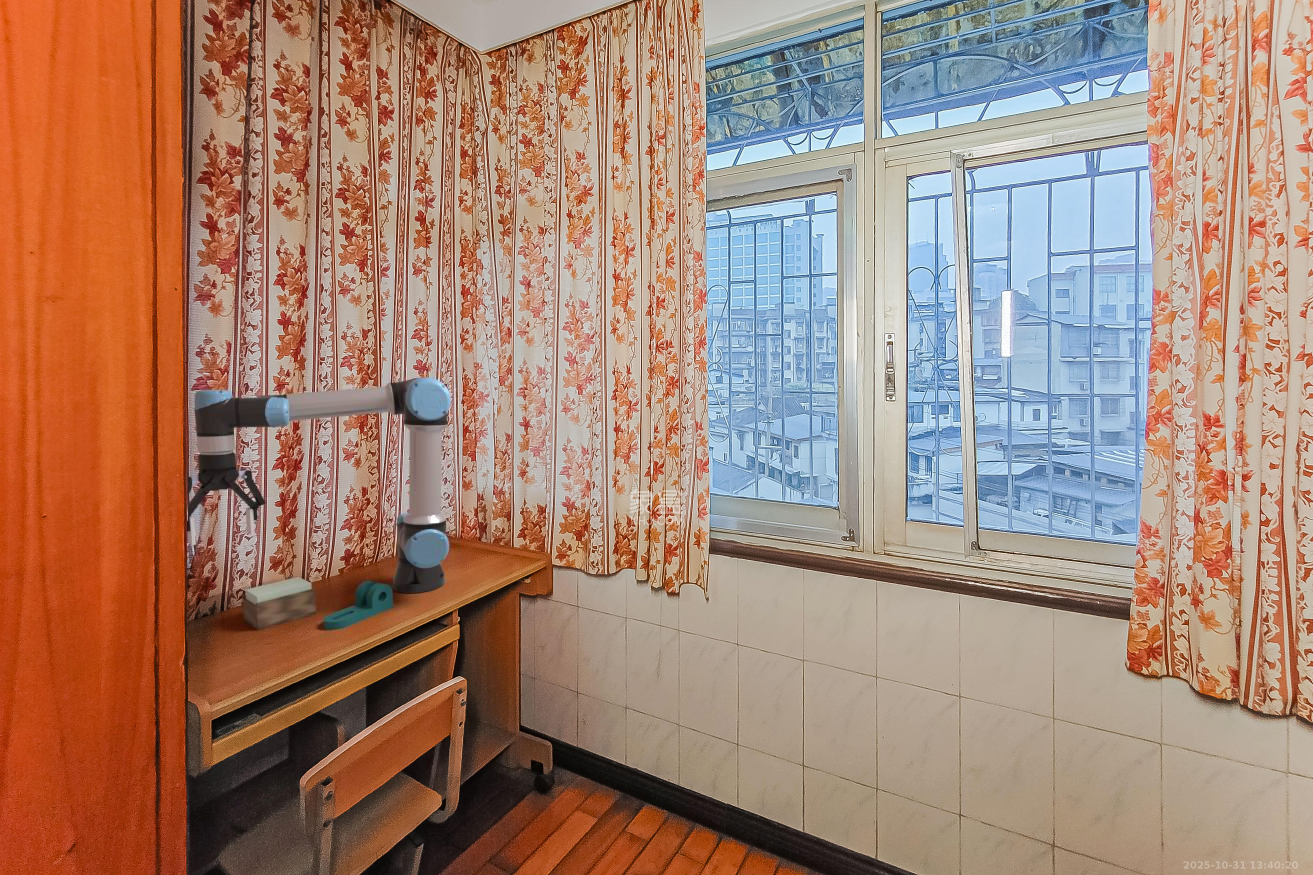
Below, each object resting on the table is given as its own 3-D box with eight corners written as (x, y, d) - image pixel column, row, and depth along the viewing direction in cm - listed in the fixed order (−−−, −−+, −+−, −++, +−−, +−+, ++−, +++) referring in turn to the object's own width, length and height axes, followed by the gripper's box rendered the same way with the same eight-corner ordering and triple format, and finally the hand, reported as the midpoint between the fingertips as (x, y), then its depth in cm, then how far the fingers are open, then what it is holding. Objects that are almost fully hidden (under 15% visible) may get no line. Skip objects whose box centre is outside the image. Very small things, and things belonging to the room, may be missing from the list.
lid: (299, 585, 169) (298, 576, 169) (311, 592, 164) (311, 583, 164) (245, 598, 159) (245, 589, 158) (257, 606, 154) (257, 596, 153)
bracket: (376, 603, 172) (375, 577, 171) (393, 607, 169) (392, 581, 168) (317, 627, 156) (316, 598, 155) (335, 632, 153) (334, 602, 152)
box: (300, 604, 170) (299, 580, 170) (316, 613, 164) (314, 588, 164) (243, 620, 159) (242, 594, 159) (258, 630, 153) (256, 603, 153)
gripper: (265, 447, 159) (270, 526, 161) (150, 456, 140) (157, 546, 142) (277, 449, 155) (281, 531, 157) (159, 459, 136) (166, 552, 138)
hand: (222, 538), depth 150 cm, fingers open, 12 cm apart
